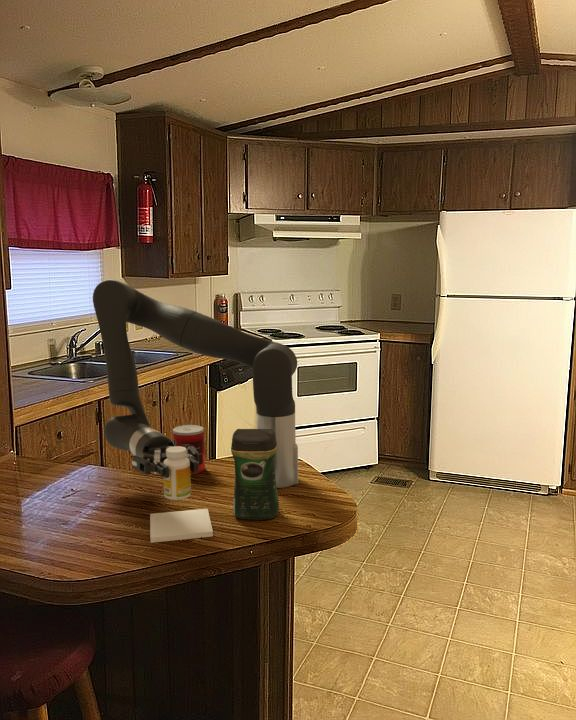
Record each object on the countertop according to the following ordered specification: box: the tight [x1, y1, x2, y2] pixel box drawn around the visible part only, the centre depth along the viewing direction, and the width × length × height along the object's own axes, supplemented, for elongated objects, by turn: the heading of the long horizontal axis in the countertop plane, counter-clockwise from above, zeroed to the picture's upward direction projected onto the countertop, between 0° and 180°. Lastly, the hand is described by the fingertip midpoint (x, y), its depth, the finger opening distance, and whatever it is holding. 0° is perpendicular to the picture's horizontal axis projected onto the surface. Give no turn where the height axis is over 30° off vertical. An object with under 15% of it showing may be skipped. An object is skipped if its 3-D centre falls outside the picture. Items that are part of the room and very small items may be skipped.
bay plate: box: [149, 508, 214, 543], centre depth 134 cm, size 12×12×1 cm
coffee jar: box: [230, 428, 280, 520], centre depth 138 cm, size 10×8×19 cm
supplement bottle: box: [162, 446, 192, 501], centre depth 132 cm, size 5×5×10 cm
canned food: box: [172, 424, 206, 475], centre depth 168 cm, size 8×8×11 cm
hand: (181, 470), depth 130 cm, fingers closed on supplement bottle, 5 cm apart
